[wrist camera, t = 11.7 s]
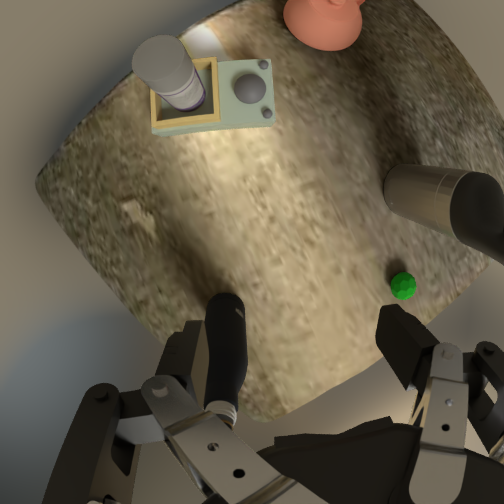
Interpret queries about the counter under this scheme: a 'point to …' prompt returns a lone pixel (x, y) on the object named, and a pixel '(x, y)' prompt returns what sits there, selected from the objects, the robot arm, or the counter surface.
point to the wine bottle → (225, 355)
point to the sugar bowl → (324, 22)
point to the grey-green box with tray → (221, 99)
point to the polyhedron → (403, 285)
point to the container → (169, 72)
